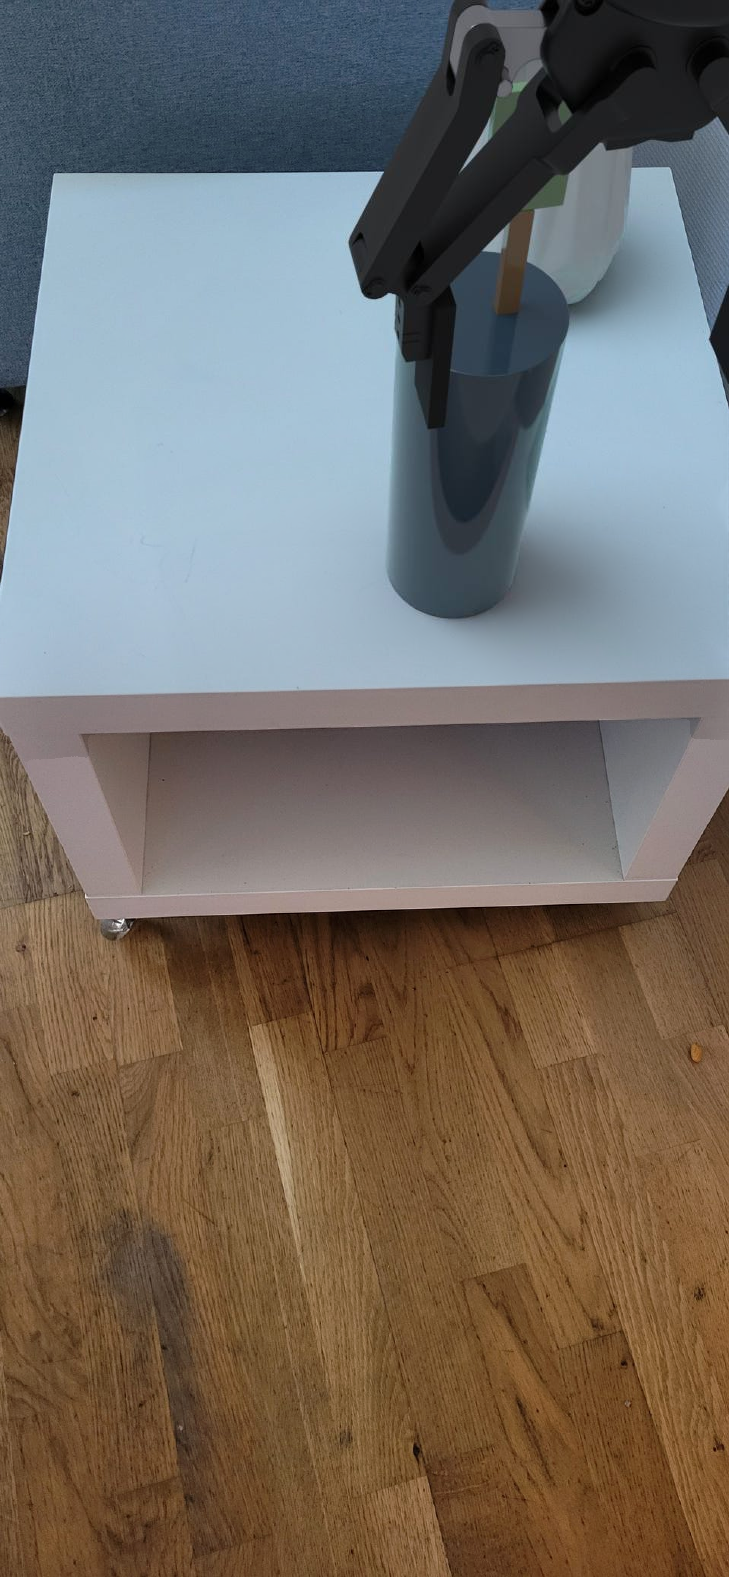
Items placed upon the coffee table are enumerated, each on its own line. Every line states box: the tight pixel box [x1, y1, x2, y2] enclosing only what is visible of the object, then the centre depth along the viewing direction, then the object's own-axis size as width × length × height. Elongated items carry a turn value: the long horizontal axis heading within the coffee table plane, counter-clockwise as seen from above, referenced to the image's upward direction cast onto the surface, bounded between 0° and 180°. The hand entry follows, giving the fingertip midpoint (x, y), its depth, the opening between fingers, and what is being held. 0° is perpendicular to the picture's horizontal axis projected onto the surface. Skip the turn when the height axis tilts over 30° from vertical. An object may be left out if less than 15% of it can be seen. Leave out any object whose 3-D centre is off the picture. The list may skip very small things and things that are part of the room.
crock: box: [385, 81, 572, 619], centre depth 64 cm, size 9×9×34 cm
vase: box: [460, 60, 634, 306], centre depth 85 cm, size 14×14×15 cm
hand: (579, 383), depth 51 cm, fingers open, 13 cm apart
